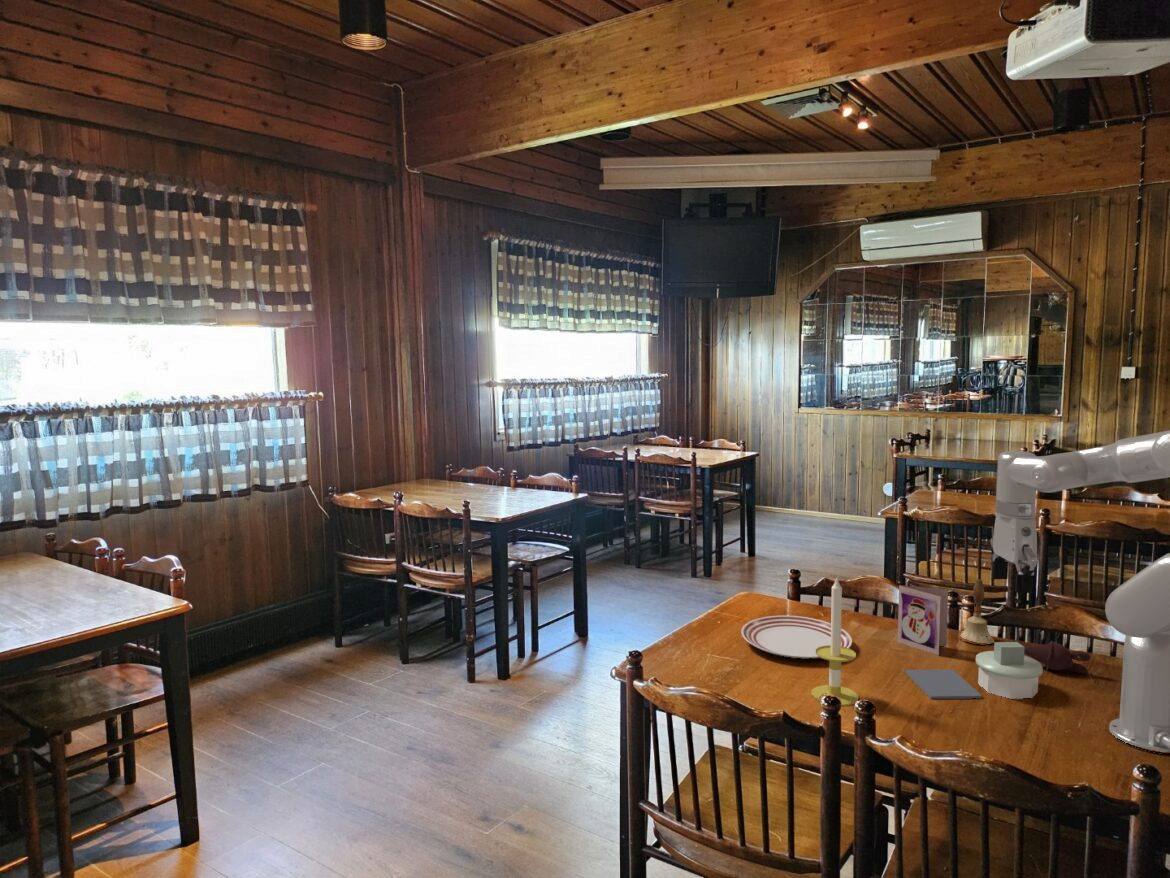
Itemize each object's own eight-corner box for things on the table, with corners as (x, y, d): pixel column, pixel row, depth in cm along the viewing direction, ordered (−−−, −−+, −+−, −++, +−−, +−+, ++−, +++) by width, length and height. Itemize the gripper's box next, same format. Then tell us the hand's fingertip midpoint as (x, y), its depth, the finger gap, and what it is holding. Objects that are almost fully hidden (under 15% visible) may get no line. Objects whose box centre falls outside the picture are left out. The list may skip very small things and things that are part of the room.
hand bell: (963, 631, 208) (965, 573, 206) (997, 638, 203) (1000, 578, 201) (954, 641, 202) (956, 580, 200) (990, 648, 197) (992, 586, 195)
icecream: (1015, 643, 183) (1091, 661, 175) (1018, 626, 189) (1092, 643, 181) (1012, 668, 185) (1086, 686, 178) (1014, 650, 191) (1087, 667, 183)
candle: (827, 709, 165) (830, 584, 162) (802, 689, 175) (803, 572, 172) (868, 702, 168) (871, 580, 165) (841, 683, 178) (843, 567, 175)
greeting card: (895, 642, 201) (897, 586, 200) (912, 636, 205) (914, 580, 204) (936, 656, 192) (938, 597, 190) (953, 650, 196) (956, 591, 194)
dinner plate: (876, 656, 194) (876, 643, 193) (783, 674, 184) (783, 661, 183) (806, 621, 219) (806, 609, 219) (721, 636, 209) (721, 623, 209)
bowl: (1045, 698, 168) (1047, 676, 168) (995, 699, 168) (996, 676, 168) (1019, 677, 179) (1019, 656, 178) (971, 678, 179) (972, 657, 179)
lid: (1055, 678, 167) (1056, 655, 166) (993, 679, 167) (994, 656, 166) (1022, 654, 180) (1023, 633, 179) (965, 655, 180) (965, 634, 179)
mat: (982, 698, 169) (982, 695, 169) (930, 698, 169) (930, 696, 169) (952, 671, 183) (952, 669, 183) (905, 672, 183) (905, 669, 183)
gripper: (1055, 517, 161) (1051, 598, 163) (1011, 500, 178) (1007, 574, 180) (1019, 517, 161) (1014, 598, 163) (978, 501, 178) (974, 574, 180)
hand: (1011, 585), depth 171 cm, fingers open, 9 cm apart
